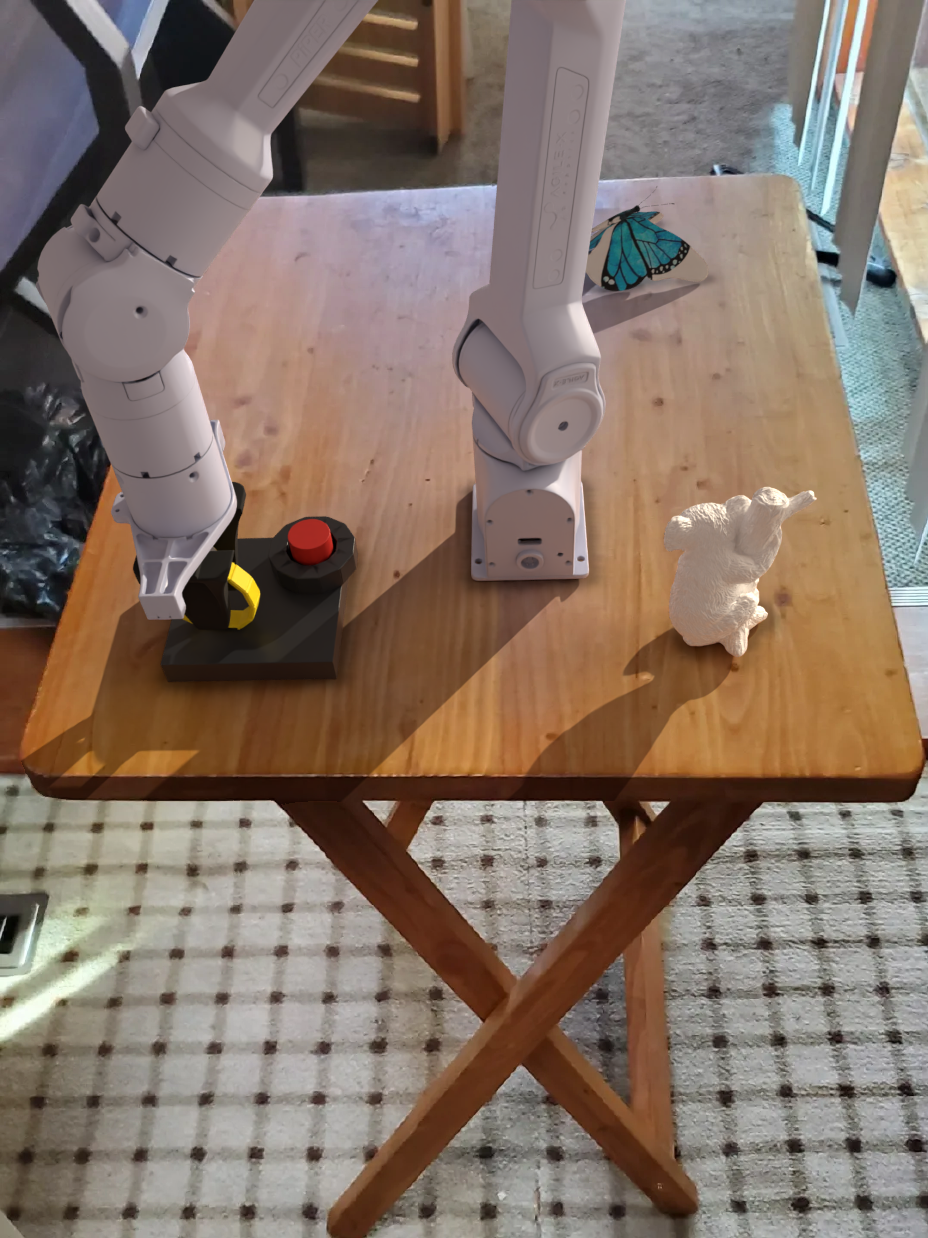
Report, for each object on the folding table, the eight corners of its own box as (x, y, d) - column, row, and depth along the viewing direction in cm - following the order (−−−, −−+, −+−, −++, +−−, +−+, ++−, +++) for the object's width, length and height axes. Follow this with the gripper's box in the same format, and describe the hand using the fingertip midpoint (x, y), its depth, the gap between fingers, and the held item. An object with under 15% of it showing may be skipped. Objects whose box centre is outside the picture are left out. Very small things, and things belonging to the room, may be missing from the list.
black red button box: (350, 679, 69) (342, 645, 66) (168, 682, 70) (153, 649, 67) (363, 550, 76) (357, 515, 73) (198, 554, 77) (186, 519, 74)
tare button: (331, 565, 71) (327, 548, 70) (289, 566, 71) (285, 549, 70) (335, 534, 73) (331, 518, 72) (294, 535, 73) (290, 519, 72)
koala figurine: (776, 590, 72) (810, 454, 62) (790, 671, 67) (830, 537, 58) (647, 590, 72) (663, 455, 63) (654, 670, 68) (671, 538, 59)
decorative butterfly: (550, 209, 96) (651, 159, 96) (565, 267, 101) (662, 220, 101) (594, 267, 90) (703, 214, 90) (608, 326, 95) (711, 276, 95)
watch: (271, 608, 71) (252, 546, 66) (260, 641, 69) (239, 579, 64) (184, 601, 71) (159, 539, 67) (170, 633, 70) (144, 572, 65)
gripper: (118, 363, 63) (177, 526, 74) (53, 541, 54) (131, 699, 64) (236, 359, 63) (279, 523, 73) (192, 537, 54) (248, 697, 64)
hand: (217, 605), depth 69 cm, fingers closed on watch, 2 cm apart
